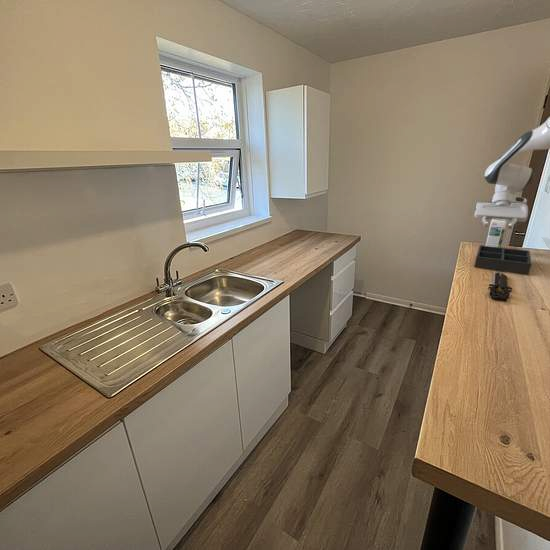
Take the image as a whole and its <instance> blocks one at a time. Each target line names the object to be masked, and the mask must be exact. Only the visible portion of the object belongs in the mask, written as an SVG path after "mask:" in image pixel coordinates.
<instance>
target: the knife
mask: <svg viewBox="0 0 550 550" xmlns="http://www.w3.org/2000/svg"><path fill="white" fill-rule="evenodd" d="M499 288H500V289H501V290H499ZM488 289H490V290H489V296H490V299H491V300H495V301H500V302H501V301H503V302H506V301H508V299H509V298H510V293H512V290H513V287H511V286H508V275H506V274H504V273H501V271H498V272H495V273H493V280H492V283H489V284H488Z"/></svg>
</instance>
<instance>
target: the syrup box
mask: <svg viewBox="0 0 550 550" xmlns="http://www.w3.org/2000/svg"><path fill="white" fill-rule="evenodd" d="M508 222H509V221H508V220H505V219H494V218H493V219H492V220H490V224H489V228H488V234H487V238H486V243H485V246H490V247H499V248H502V246H503V242H504V237H505V234H506V229H507V225H508Z"/></svg>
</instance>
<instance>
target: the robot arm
mask: <svg viewBox="0 0 550 550" xmlns="http://www.w3.org/2000/svg"><path fill="white" fill-rule="evenodd" d="M539 150H541V151H542V150H550V116H548V118H547V119H546V120H545V121H544V122H543V123H541V125H540V126H538V127H536V128H534V129H533V130H530V131H527V132H525V133H524V134H522V135H520V137H518V139H516V141H515V142H513V143H512V144H511V145H510V146H509V147H508V148H507V149H506V150H505V151H504V152H503V153H502V154H501V155H500V156H499V157H498V158H497V159H495V160H494V161H493V162H491V163H490V164H489V165H488V167H487V168H486V170H485V172H484V175H483V176H484V180H485V182H487V184H491V185H495V188H494V194H493V195H492V200H491V201H489V200H488V201H487V200H481V201H478V202H477V203H476V204H475V208H476V209H475V211H474V218H475V219H479V220H481V222H482V223H483V227H488V225H489V224H488V223H489V220H490V221H492V219H493V218H494V219H505V220H508V222H511V223H508V224H507V225H508V226H507V229H510V230H512V229H513V226H514V225H516V224H517V222H518V223H524V222H526V221H527V220H528V217H529V206H528V204H527V202H528V199H527V198H525V197H522V196H518V195H517V193H519V192H522V191H524V190H525V189H527V188H528V187H530V186H531V184H532V183H533V181H534V178H535V172H534V169H533V168H532V167H528V166H525V165H519V164H513V163H512V162H513V161H514V160H515V159H516V158H517V157H518V156H520V155H521V154H523V153H526V152H530V151H539ZM487 220H488V221H487Z"/></svg>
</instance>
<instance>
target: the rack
mask: <svg viewBox="0 0 550 550" xmlns="http://www.w3.org/2000/svg"><path fill="white" fill-rule="evenodd" d="M531 267H532V258H531V252H530V250H527V249H526V250H525V249H517V248H516V249H515V248H508V247H507V248H506V247H501V248H499V247H490V246H486V245H481V244H480V245H479V246H478V250H477V253H476V256H475V261H474V267H473V268H476V269H483V270H491V271H497V272H503V273H510V274H518V275H523V276H529V273H530V270H531Z"/></svg>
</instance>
